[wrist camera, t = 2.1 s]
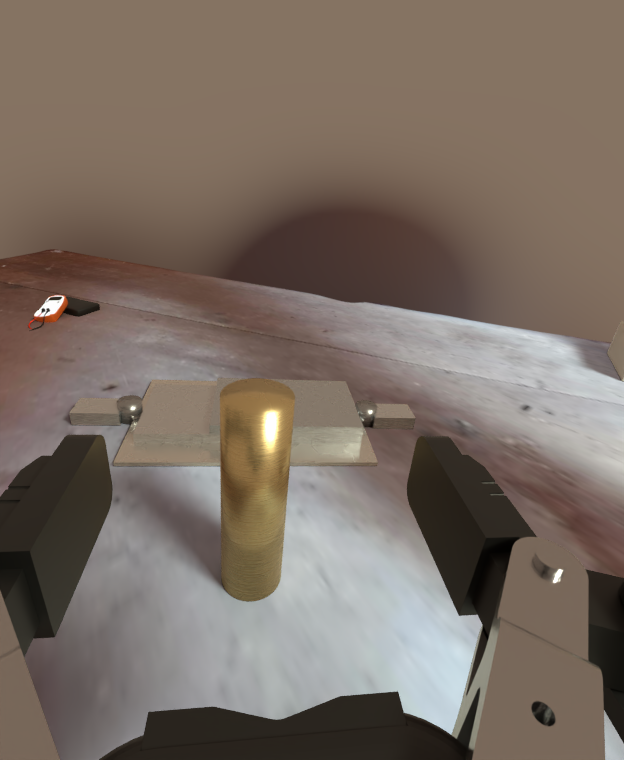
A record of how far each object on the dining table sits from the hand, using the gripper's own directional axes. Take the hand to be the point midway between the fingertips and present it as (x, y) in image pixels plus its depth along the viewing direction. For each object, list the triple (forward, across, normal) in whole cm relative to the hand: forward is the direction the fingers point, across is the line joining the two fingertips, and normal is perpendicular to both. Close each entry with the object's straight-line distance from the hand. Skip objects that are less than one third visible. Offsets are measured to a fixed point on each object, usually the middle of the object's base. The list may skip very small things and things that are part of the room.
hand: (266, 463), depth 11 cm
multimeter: (+59, +32, +18) cm, 69 cm away
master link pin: (+12, 0, +18) cm, 21 cm away
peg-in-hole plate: (+31, 0, +18) cm, 36 cm away
